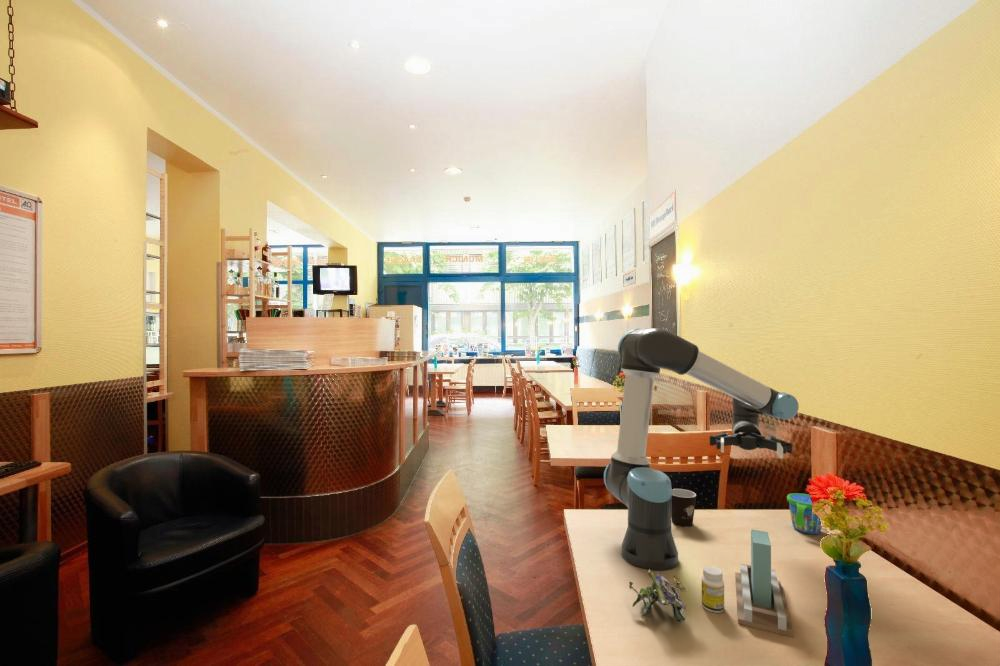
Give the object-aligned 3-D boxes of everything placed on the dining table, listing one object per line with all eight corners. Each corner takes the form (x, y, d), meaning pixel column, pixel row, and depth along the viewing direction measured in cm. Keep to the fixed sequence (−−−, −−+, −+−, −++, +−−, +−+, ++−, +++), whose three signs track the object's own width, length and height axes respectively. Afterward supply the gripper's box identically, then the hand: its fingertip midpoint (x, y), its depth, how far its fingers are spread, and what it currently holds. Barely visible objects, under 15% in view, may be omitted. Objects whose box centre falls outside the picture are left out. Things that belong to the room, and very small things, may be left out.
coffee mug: (691, 518, 155) (691, 489, 155) (700, 529, 146) (699, 498, 146) (656, 517, 156) (656, 488, 156) (662, 527, 147) (662, 496, 148)
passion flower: (677, 644, 99) (701, 618, 92) (629, 636, 98) (649, 609, 92) (665, 591, 108) (685, 564, 102) (621, 583, 108) (639, 556, 101)
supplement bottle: (703, 599, 107) (703, 563, 107) (726, 605, 104) (726, 568, 104) (699, 608, 103) (699, 571, 103) (722, 616, 100) (722, 577, 100)
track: (735, 576, 117) (735, 562, 117) (780, 585, 113) (780, 571, 113) (738, 623, 97) (738, 607, 97) (793, 637, 93) (793, 620, 93)
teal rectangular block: (751, 587, 110) (751, 529, 110) (767, 591, 108) (767, 532, 109) (753, 604, 103) (753, 542, 103) (771, 608, 101) (771, 545, 101)
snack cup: (816, 542, 137) (816, 508, 137) (778, 530, 146) (778, 498, 146) (834, 529, 147) (834, 498, 147) (797, 519, 155) (797, 489, 155)
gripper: (795, 452, 133) (807, 470, 114) (702, 443, 144) (699, 458, 125) (795, 426, 133) (807, 440, 114) (702, 419, 144) (699, 431, 125)
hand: (751, 450), depth 119 cm, fingers open, 13 cm apart
